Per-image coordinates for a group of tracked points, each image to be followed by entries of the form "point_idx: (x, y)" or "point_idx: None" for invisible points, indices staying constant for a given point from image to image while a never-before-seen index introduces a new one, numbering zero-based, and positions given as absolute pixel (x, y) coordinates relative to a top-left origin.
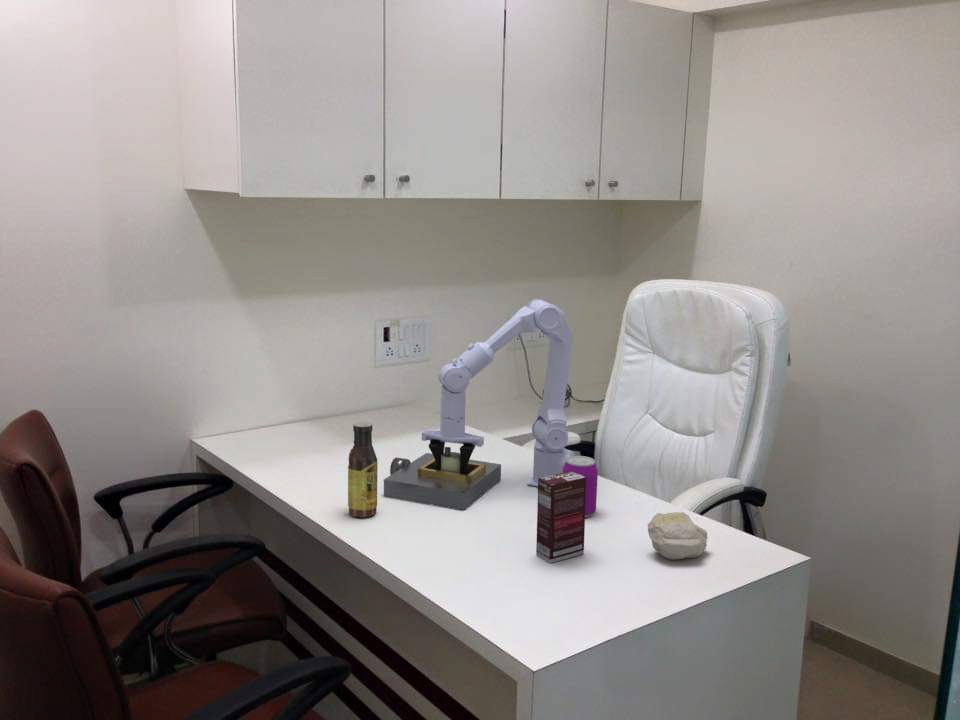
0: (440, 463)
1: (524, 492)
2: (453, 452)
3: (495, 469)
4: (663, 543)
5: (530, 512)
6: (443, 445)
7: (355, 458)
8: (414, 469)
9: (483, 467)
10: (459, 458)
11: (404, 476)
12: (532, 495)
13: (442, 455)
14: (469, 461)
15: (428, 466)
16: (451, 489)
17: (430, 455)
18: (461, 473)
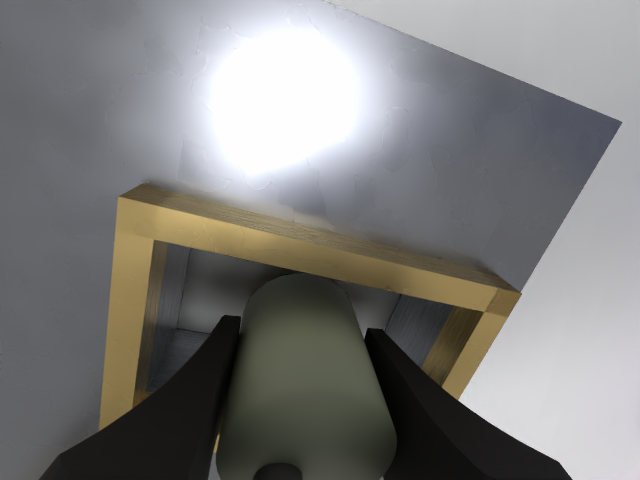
0: (224, 400)
1: (601, 261)
2: (312, 400)
3: (558, 222)
4: None
5: (568, 415)
6: (198, 473)
7: None
8: (51, 337)
9: (499, 320)
10: (373, 476)
11: (54, 439)
12: (621, 285)
13: (233, 478)
14: (399, 93)
15: (141, 365)
16: None
17: None
18: None
